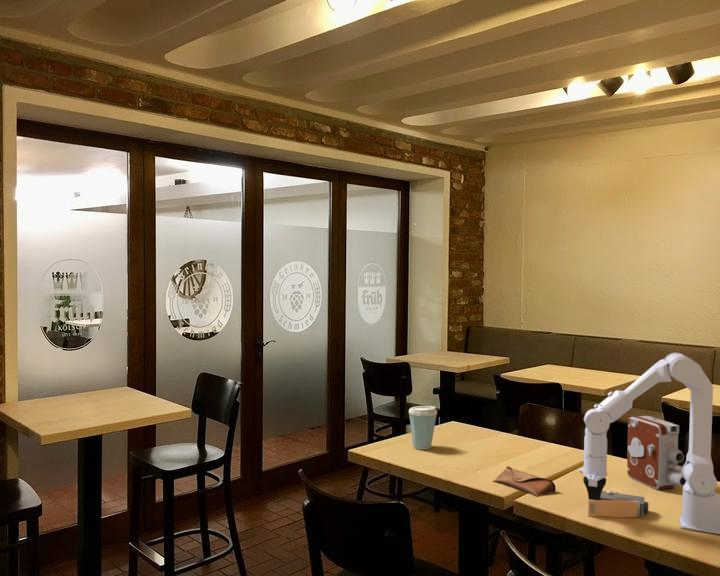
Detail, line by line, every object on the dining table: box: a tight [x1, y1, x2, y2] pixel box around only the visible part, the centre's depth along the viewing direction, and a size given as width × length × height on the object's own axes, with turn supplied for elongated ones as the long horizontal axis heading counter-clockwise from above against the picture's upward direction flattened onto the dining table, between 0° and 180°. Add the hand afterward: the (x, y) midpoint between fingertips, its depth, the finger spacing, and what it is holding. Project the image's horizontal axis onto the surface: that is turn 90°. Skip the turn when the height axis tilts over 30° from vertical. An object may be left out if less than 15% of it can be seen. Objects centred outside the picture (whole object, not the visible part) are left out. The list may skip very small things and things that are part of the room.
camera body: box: [600, 490, 649, 518], centre depth 169 cm, size 12×6×4 cm, turn 65°
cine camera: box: [626, 415, 686, 490], centre depth 189 cm, size 9×19×20 cm, turn 15°
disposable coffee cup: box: [408, 405, 438, 450], centre depth 229 cm, size 11×11×15 cm
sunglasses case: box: [492, 465, 557, 498], centre depth 188 cm, size 18×7×7 cm
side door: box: [587, 499, 641, 518], centre depth 164 cm, size 14×1×4 cm, turn 88°
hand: (594, 505), depth 166 cm, fingers closed
